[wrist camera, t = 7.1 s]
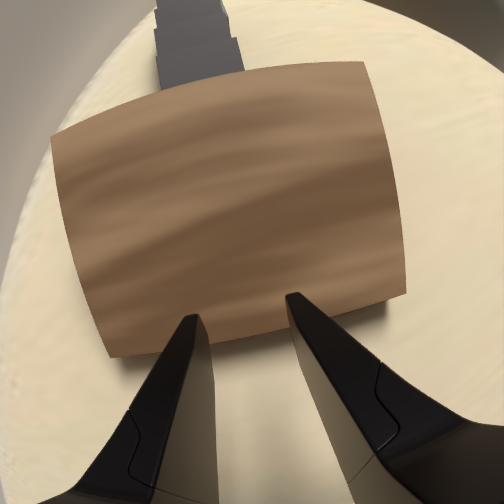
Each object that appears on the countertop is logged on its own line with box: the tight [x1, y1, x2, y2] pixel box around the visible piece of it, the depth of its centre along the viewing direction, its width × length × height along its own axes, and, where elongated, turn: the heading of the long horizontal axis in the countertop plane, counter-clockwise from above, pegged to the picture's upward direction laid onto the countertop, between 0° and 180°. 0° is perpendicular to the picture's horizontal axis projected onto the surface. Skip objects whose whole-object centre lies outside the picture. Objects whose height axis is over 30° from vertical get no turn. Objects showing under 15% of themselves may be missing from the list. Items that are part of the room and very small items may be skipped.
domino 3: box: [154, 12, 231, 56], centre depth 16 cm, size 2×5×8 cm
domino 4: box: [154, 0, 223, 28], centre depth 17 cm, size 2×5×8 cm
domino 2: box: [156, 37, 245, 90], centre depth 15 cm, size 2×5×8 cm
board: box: [51, 62, 406, 358], centre depth 13 cm, size 2×16×12 cm
